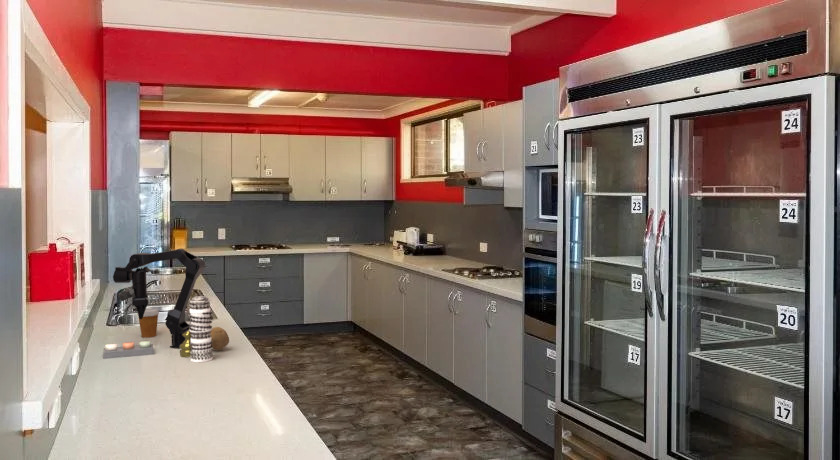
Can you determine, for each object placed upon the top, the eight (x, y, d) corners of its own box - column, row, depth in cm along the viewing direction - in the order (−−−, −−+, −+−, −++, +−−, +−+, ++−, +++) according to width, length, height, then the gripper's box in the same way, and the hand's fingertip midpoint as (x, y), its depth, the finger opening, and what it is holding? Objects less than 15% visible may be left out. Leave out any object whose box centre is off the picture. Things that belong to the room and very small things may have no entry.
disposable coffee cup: (145, 339, 344) (144, 312, 343) (133, 336, 350) (132, 310, 349) (164, 335, 351) (163, 309, 351) (152, 333, 357) (151, 307, 356)
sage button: (150, 344, 319) (150, 340, 319) (151, 347, 315) (150, 342, 315) (139, 345, 317) (139, 341, 317) (139, 348, 313) (139, 343, 313)
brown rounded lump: (201, 351, 316) (200, 328, 316) (216, 347, 324) (215, 324, 324) (218, 353, 312) (217, 329, 311) (233, 349, 320) (232, 325, 319)
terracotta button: (134, 346, 317) (134, 341, 316) (134, 348, 313) (134, 343, 312) (122, 347, 315) (122, 342, 315) (122, 349, 311) (122, 344, 311)
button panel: (153, 349, 321) (152, 344, 321) (153, 354, 313) (153, 348, 313) (104, 354, 315) (103, 348, 315) (103, 358, 306) (103, 352, 306)
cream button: (117, 347, 314) (117, 343, 314) (117, 349, 310) (116, 345, 310) (105, 348, 313) (105, 343, 313) (105, 350, 309) (105, 346, 309)
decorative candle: (212, 355, 308) (210, 294, 307) (215, 360, 300) (212, 297, 298) (188, 358, 305) (186, 296, 303) (190, 363, 296) (188, 299, 295)
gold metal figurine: (193, 357, 306) (192, 333, 305) (176, 357, 308) (175, 332, 307) (202, 353, 313) (201, 329, 313) (185, 353, 315) (184, 329, 314)
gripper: (119, 281, 332) (121, 316, 333) (118, 286, 315) (120, 324, 316) (146, 279, 336) (148, 315, 337) (147, 285, 319) (148, 322, 320)
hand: (140, 319), depth 327 cm, fingers closed
